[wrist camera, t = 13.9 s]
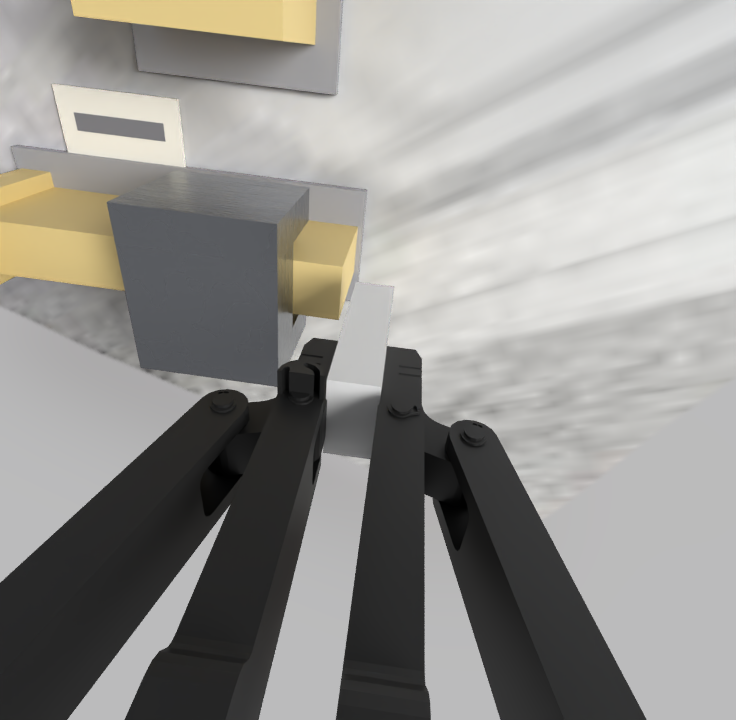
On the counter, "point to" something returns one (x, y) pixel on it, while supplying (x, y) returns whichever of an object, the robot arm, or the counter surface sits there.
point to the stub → (233, 39)
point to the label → (121, 125)
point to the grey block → (211, 273)
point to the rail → (117, 176)
